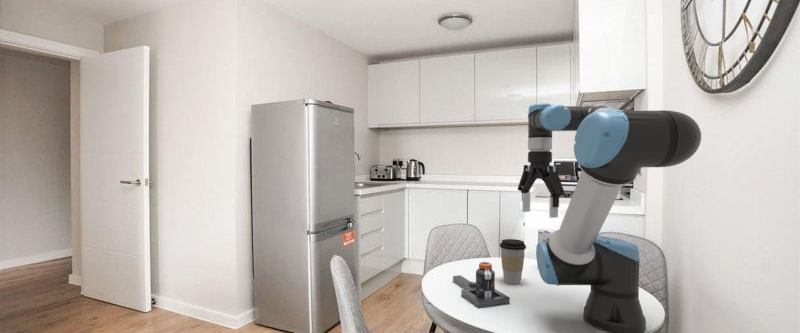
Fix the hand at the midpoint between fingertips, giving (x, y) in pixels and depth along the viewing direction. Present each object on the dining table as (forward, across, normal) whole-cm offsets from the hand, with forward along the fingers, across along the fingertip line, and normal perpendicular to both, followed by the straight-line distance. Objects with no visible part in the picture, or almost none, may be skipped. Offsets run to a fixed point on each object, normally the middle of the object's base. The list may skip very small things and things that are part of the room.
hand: (539, 214), depth 127 cm
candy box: (+27, +17, -22) cm, 39 cm away
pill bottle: (+26, +1, +20) cm, 33 cm away
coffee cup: (+27, +13, +1) cm, 30 cm away
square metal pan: (+27, +8, +20) cm, 34 cm away
